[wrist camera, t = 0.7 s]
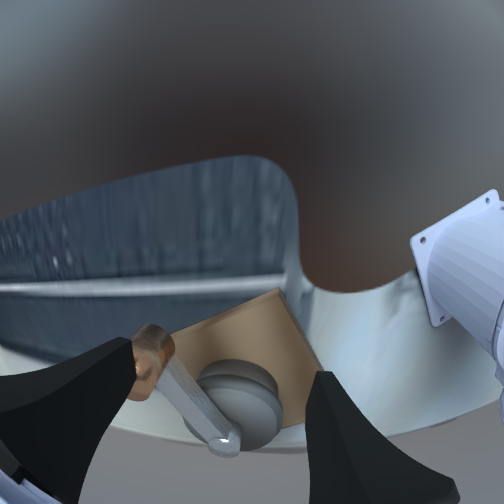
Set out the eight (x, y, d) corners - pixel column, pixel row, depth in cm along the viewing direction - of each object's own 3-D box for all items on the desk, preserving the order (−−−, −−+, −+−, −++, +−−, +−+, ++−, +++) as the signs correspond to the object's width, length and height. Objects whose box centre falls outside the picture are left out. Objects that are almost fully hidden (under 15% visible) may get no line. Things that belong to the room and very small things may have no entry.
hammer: (251, 432, 16) (243, 479, 12) (221, 438, 16) (210, 481, 13) (162, 314, 14) (127, 356, 10) (132, 328, 15) (96, 366, 11)
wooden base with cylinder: (278, 287, 19) (277, 327, 14) (338, 397, 21) (347, 445, 16) (141, 346, 22) (110, 384, 16) (214, 433, 24) (202, 474, 19)
